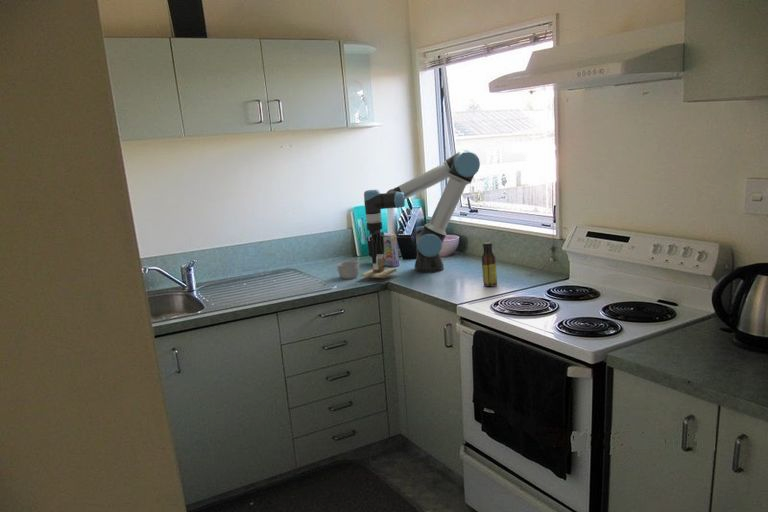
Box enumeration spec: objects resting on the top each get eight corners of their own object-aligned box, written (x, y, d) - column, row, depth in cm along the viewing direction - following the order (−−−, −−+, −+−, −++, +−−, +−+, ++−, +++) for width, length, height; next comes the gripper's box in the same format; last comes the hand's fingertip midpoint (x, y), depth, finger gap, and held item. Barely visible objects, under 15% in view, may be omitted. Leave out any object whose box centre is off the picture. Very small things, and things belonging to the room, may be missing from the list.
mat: (399, 276, 290) (399, 275, 290) (384, 284, 276) (384, 283, 276) (372, 274, 298) (372, 273, 297) (356, 282, 284) (356, 281, 284)
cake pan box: (371, 262, 324) (369, 232, 321) (379, 261, 327) (376, 230, 324) (392, 267, 309) (390, 235, 305) (400, 266, 312) (397, 233, 308)
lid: (396, 270, 289) (395, 257, 287) (384, 277, 278) (382, 263, 276) (373, 269, 295) (372, 256, 293) (360, 276, 284) (359, 262, 282)
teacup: (359, 280, 288) (357, 264, 286) (337, 281, 288) (336, 266, 287) (360, 273, 302) (359, 258, 300) (340, 274, 302) (338, 259, 300)
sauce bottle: (498, 283, 263) (496, 241, 259) (496, 287, 257) (494, 244, 253) (483, 283, 265) (482, 241, 261) (481, 287, 259) (479, 244, 255)
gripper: (375, 218, 290) (380, 263, 295) (358, 224, 275) (363, 272, 280) (389, 218, 286) (392, 264, 291) (372, 224, 272) (376, 272, 277)
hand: (378, 268), depth 286 cm, fingers closed on lid, 4 cm apart
